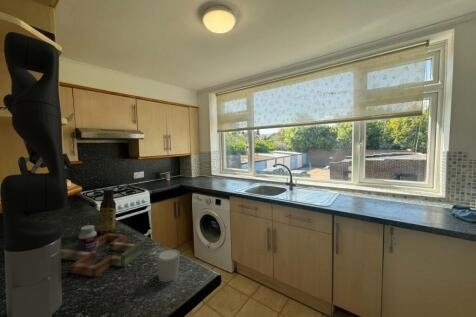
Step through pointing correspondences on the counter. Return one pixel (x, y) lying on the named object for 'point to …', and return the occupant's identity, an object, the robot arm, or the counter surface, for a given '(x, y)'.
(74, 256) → the trap channel
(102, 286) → the counter surface
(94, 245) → the pill bottle
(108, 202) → the sauce bottle
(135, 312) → the counter surface
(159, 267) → the white cup
